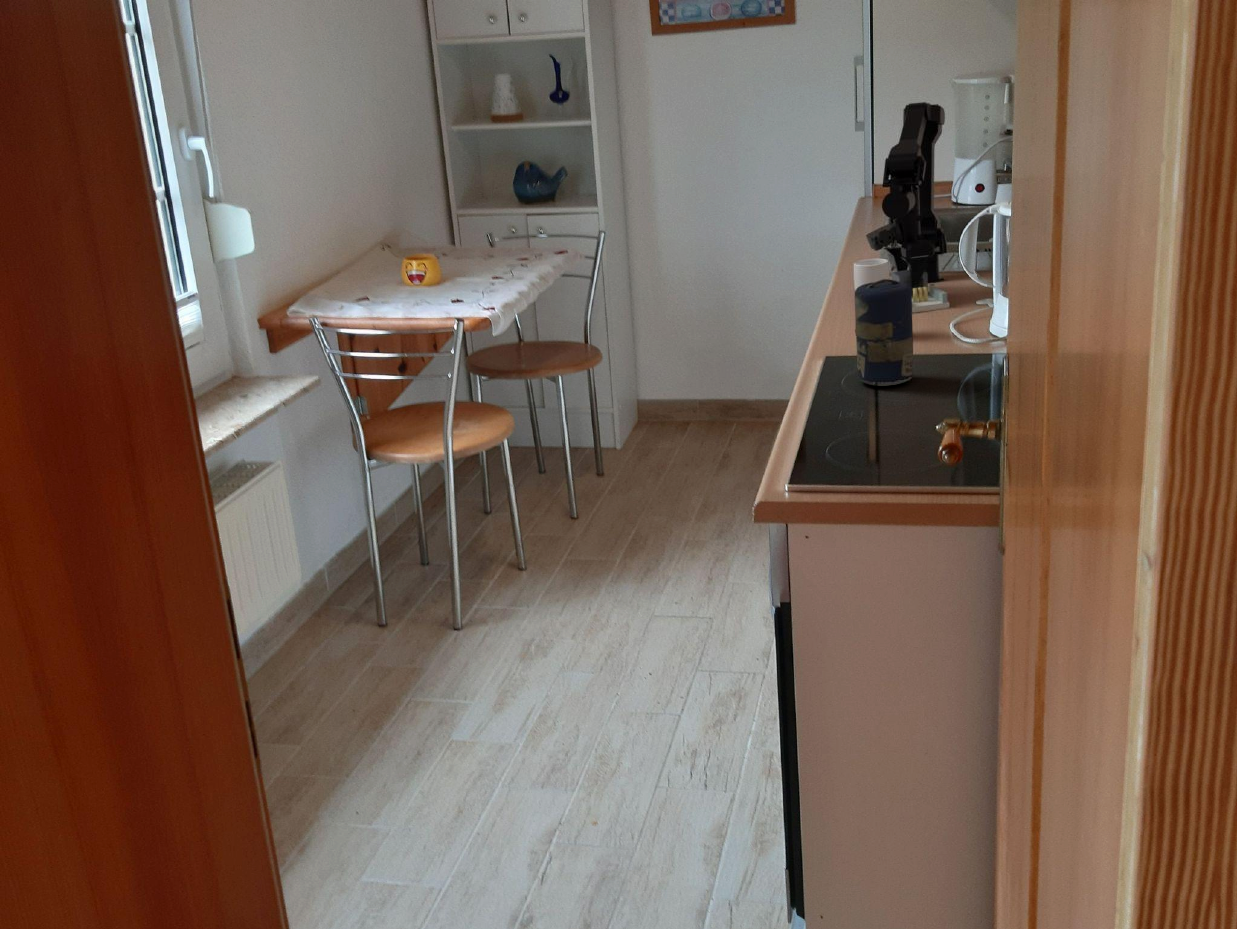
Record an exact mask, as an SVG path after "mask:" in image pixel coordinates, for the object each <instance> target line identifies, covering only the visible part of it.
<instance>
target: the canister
mask: <svg viewBox="0 0 1237 929" xmlns="http://www.w3.org/2000/svg"><path fill="white" fill-rule="evenodd" d="M854 319H855V320H854V323H855V325H854V326H855V329H854V333H855V336H856V339H855V340H856V360H857V362H856V367H857V377H859V378H858V380H859V379H862V380H865V381H869V382H880V383H881V382H884V383H885V382H895V381H898V380H904V379H908V378H909V377H912V376H913V377H914V375H913V374H914V373H915V372H914V330H913V313H912V290H911V287H910V286H909V285H908V284H906V283H904V282H898V281H895V280H892V279H891V278H890V279H882V280H880V281H877V282H872V283H867V284H864V285H861V286H859V287H858V288H857V289H856V291H855V290H854Z"/></svg>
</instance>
